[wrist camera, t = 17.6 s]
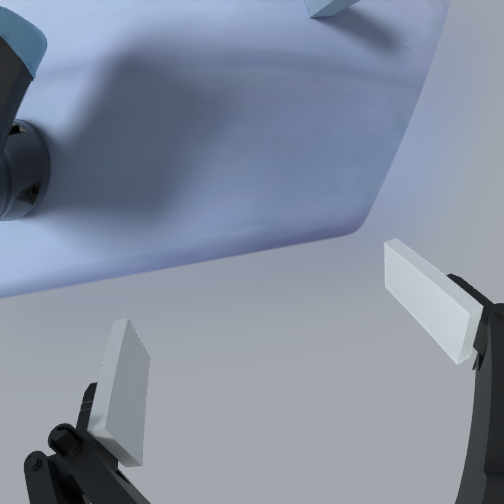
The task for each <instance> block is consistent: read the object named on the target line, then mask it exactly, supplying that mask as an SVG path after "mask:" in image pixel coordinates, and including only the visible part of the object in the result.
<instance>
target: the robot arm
mask: <svg viewBox="0 0 504 504" xmlns="http://www.w3.org/2000/svg"><path fill="white" fill-rule="evenodd" d="M46 49H47V39H46V37H45V35H44V34H43V33H42V31H41V30H39V29H38V28H37V27H36V26H34V25H33V24H32V23H30V22H29V21H27V20H26V19H24V18H23V17H21V16H19V15H18V14H16V13H14V12H13V11H11V10H9V9H7V8H5V7H1V6H0V221H10V220H15V219H18V218H21V217H23V216H24V215H26V214H27V213H29V212H30V211H32V210H33V209H34V208H35V207H36V206H37V205H38V204H39V203H40V201H41V200H42V198H43V196H44V194H45V192H46V190H47V187H48V183H49V177H50V159H49V153H48V149H47V147H46V144H45V142H44V140H43V138H42V136H41V135H40V133H39V132H38V131H37V130H36V129H35V128H34V127H33V126H32V125H30V124H28V123H27V122H24V121H21V120H15V117H16V115H17V112H18V110H19V108H20V105H21V103H22V101H23V98H24V96H25V94H26V92H27V90H28V87H29V85H30V83H31V81H34V79H35V77H36V71H37V69H38V67H39V65H40V62H41V60H42V58H43V56H44V54H45V52H46ZM384 256H385V258H384V259H385V287H386V288H387V289H388V290H389V291H390V292H391V294H392V295H394V297H395V298H396V299H397V300H398V301H399V302H400V303H401V304H402V305H403V306H404V307H405V308H406V309H407V310H408V311H409V312H410V313H411V315H413V317H414V318H415V319H416V320H417V321H418V322H419V323H420V324H421V325H422V326H423V327H424V328H425V330H426V331H427V332H428V333H429V334H430V335H431V336H432V337H433V338H434V339H435V340H436V342H437V343H438V344H439V345H440V346H441V347H442V348H443V349H444V351H445V352H446V353H447V354H448V355H449V356H450V357H451V359H452V360H453V361H454V362H455V363H456V364H457V365H458V364H459V363H461V362H463V361H464V360H466V359H468V358H470V355H471V352H472V349H473V347H474V348H475V349H476V350H477V351H478V353H477V357H476V360H475V363H474V366H473V370H474V369H475V367H476V378H475V393H474V405H473V414H472V423H471V430H470V437H469V443H468V449H467V456H466V461H465V466H464V471H463V475H462V480H461V484H460V488H459V492H458V496H457V499H456V502H455V504H504V304H503V303H497V304H493V303H492V302H491V301H490V300H488V299H487V298H486V297H485V296H484V295H482V294H481V293H480V292H478V291H477V290H476V289H474V288H473V287H472V286H471V285H470V284H469V285H468V283H467V282H466V281H464V280H463V279H462V278H461V277H458V276H456V275H453V274H449V275H445V274H443V273H442V272H441V271H439V270H438V269H437V268H436V267H434V266H433V265H432V264H430V263H429V262H427V261H426V260H425V259H423V258H422V257H421V256H420V255H418V254H417V253H416V252H414V251H413V250H412V249H410V248H409V247H408V246H406V245H405V244H404V243H402V242H401V241H399V240H398V239H396V238H395V239H392V240H389V241H386V242H384ZM149 365H150V356H149V355H148V353H147V351H146V350H145V348H144V346H143V344H142V343H141V341H140V339H139V337H138V335H137V333H136V331H135V330H134V328H133V326H132V324H131V322H130V320H129V318H125V319H121V320H117V321H115V322H114V325H113V328H112V332H111V335H110V338H109V342H108V346H107V349H106V353H105V357H104V360H103V364H102V368H101V372H100V376H99V380H98V382H97V383H91V384H90V385H89V387H88V388H87V390H86V391H85V393H84V397H83V401H82V403H83V404H82V405H81V409H80V410H81V411H80V413H79V417H78V422H77V426H76V429H75V428H74V427H73V426H72V425H70V424H67V423H64V424H60V425H58V426H56V427H55V428H54V429H53V430H52V431H51V433H50V435H49V437H48V445H49V447H50V448H52V450H54V451H55V452H56V453H57V454H54V455H51V456H46V455H45V454H44V453H43V452H42V451H34V452H32V453H31V454H30V455H28V457H27V458H26V460H25V462H24V473H25V479H26V485H27V490H28V495H29V500H30V504H90V502H91V503H92V504H150V502H149V501H148V500H147V499H146V498H145V497H144V496H143V495H142V494H141V493H140V492H139V491H138V490H137V489H136V488H135V487H134V486H133V484H132V483H131V482H130V481H129V480H128V479H127V478H126V477H125V475H124V474H123V473H122V472H121V471H120V470H119V469H118V461H119V462H120V463H122V464H123V465H124V466H125V467H134V466H142V458H143V438H144V421H145V408H146V396H147V385H148V375H149Z"/></svg>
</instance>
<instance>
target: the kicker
mask: <svg viewBox="0 0 504 504" xmlns="http://www.w3.org/2000/svg"><path fill="white" fill-rule="evenodd" d="M358 1H360V0H305V3H306V7H307V10H308V13H309V17H310V18H311V17H328V16H334V15H335V14H337V13H339V12H340V11H342V10H344V9H345V8H347V7H349V6H351V5H353V4H354V3H356V2H358Z"/></svg>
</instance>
